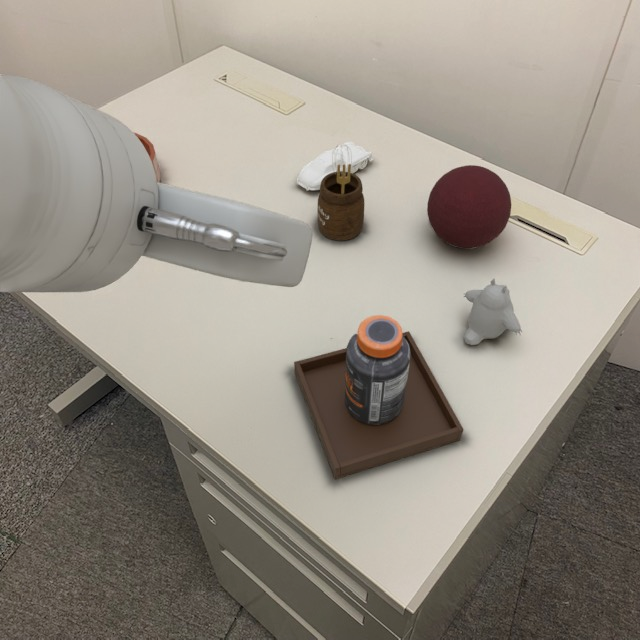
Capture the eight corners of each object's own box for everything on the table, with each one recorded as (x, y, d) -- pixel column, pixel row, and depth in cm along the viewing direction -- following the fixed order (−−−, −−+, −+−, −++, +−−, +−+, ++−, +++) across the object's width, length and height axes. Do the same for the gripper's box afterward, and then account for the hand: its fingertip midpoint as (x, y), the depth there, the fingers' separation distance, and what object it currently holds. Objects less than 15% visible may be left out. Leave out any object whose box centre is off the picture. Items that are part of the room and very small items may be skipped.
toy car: (374, 163, 93) (376, 143, 90) (313, 200, 88) (313, 179, 85) (351, 149, 95) (351, 129, 93) (290, 184, 90) (289, 163, 87)
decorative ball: (452, 203, 87) (464, 138, 79) (517, 236, 82) (536, 171, 75) (407, 239, 82) (414, 175, 75) (472, 277, 78) (488, 212, 70)
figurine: (528, 340, 71) (546, 292, 65) (494, 368, 69) (509, 320, 63) (472, 300, 75) (485, 251, 69) (438, 325, 73) (448, 276, 67)
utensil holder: (360, 211, 86) (364, 132, 77) (365, 243, 82) (370, 163, 73) (316, 213, 86) (315, 134, 77) (319, 245, 82) (318, 165, 73)
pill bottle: (338, 383, 67) (340, 310, 58) (393, 373, 68) (403, 300, 59) (352, 432, 63) (356, 362, 55) (410, 421, 64) (423, 350, 55)
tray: (335, 479, 60) (335, 469, 59) (294, 373, 68) (293, 361, 67) (460, 440, 63) (463, 429, 61) (407, 342, 71) (409, 330, 70)
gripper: (280, 175, 27) (348, 214, 40) (-106, 89, 32) (70, 149, 45) (246, 321, 27) (324, 311, 41) (-127, 215, 32) (52, 238, 46)
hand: (189, 226), depth 43 cm, fingers open, 8 cm apart
